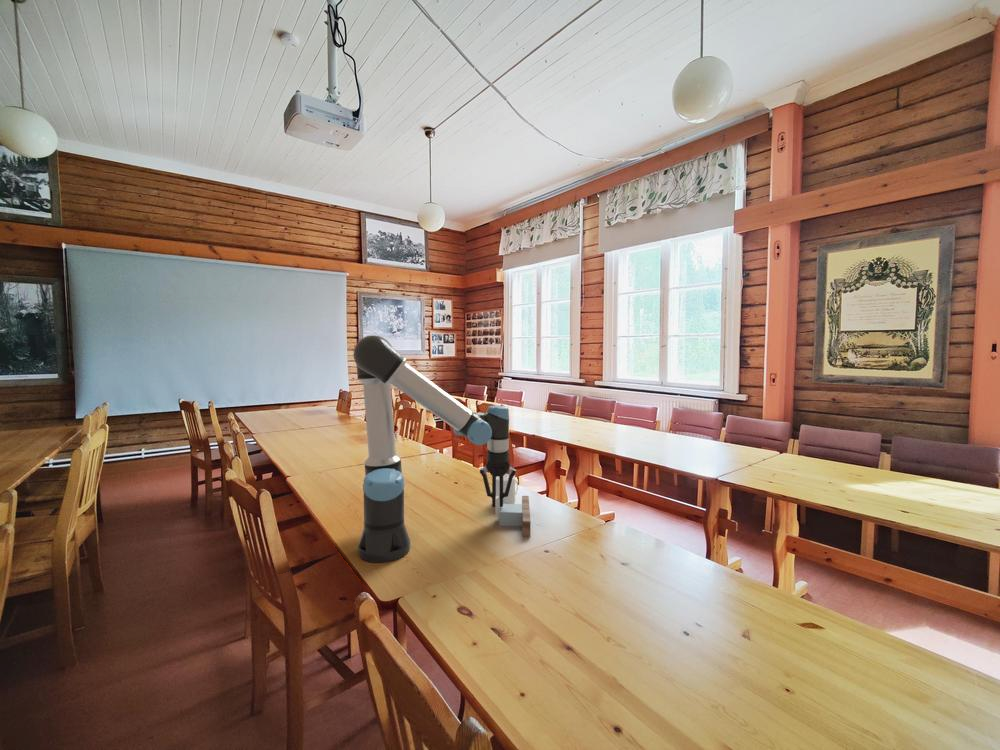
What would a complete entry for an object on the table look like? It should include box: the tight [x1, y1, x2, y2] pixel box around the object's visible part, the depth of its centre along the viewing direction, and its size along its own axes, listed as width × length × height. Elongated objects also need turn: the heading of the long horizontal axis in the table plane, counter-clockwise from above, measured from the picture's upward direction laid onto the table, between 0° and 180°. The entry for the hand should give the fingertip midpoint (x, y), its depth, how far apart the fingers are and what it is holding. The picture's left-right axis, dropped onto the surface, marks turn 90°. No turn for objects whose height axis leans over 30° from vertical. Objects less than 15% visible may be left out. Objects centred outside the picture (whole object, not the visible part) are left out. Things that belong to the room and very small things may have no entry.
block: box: [498, 503, 522, 527], centre depth 150 cm, size 8×8×5 cm
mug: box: [496, 473, 519, 504], centre depth 168 cm, size 9×12×11 cm
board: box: [521, 495, 531, 537], centre depth 150 cm, size 24×2×5 cm, turn 178°
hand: (497, 515), depth 151 cm, fingers closed
